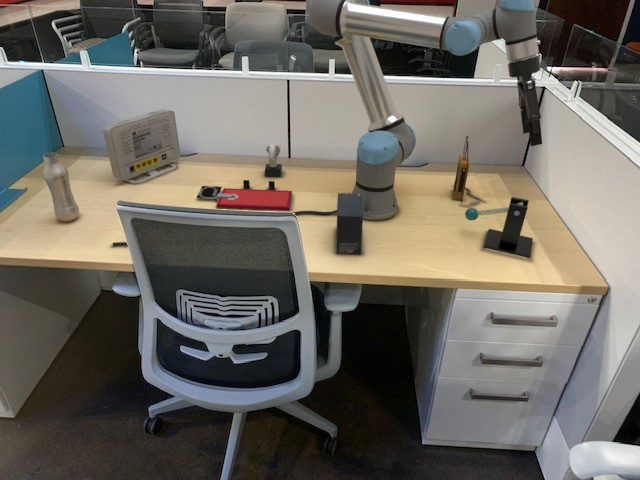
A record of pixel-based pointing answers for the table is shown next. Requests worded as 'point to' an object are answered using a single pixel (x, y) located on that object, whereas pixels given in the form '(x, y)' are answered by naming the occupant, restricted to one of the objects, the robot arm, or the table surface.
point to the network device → (142, 145)
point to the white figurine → (273, 161)
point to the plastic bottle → (59, 188)
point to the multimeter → (462, 176)
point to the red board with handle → (248, 197)
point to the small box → (349, 223)
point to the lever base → (511, 232)
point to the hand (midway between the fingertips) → (532, 138)
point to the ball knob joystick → (485, 212)
